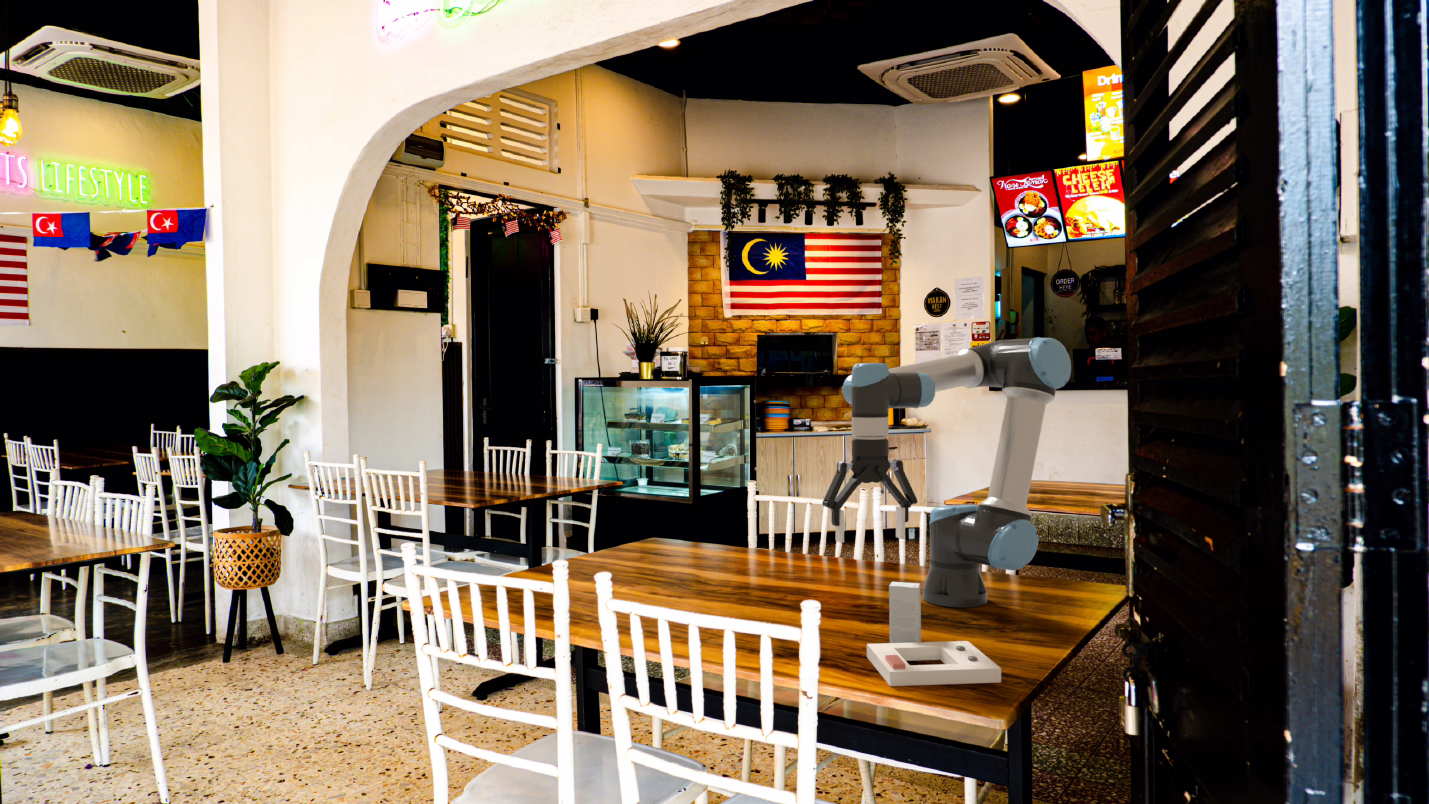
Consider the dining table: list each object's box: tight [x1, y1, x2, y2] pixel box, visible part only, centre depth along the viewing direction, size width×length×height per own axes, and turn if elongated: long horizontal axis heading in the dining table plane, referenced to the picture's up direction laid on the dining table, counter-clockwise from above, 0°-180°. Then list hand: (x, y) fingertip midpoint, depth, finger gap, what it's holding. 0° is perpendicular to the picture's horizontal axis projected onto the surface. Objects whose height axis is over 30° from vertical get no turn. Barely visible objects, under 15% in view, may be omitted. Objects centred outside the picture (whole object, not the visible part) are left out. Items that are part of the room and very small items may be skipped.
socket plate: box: [866, 640, 1002, 687], centre depth 158 cm, size 20×16×3 cm
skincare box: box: [888, 581, 922, 643], centre depth 174 cm, size 6×4×12 cm
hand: (870, 540), depth 177 cm, fingers open, 13 cm apart
